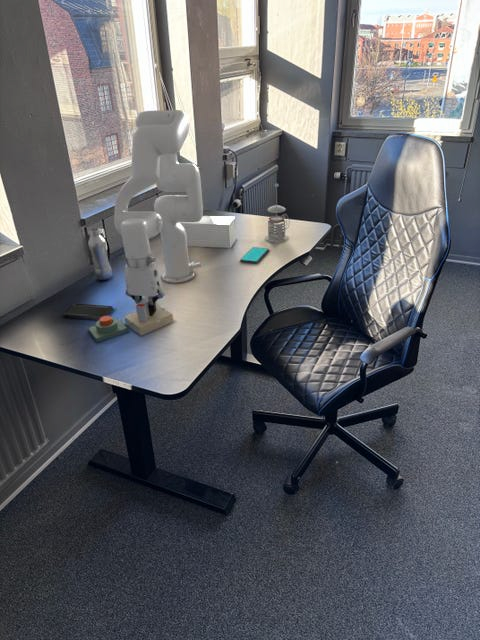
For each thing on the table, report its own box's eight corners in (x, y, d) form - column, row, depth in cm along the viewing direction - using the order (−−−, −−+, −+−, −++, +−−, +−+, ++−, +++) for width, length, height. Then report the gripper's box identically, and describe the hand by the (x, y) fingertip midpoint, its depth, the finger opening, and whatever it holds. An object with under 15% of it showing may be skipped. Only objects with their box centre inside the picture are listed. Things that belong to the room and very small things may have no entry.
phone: (74, 303, 162) (113, 306, 159) (75, 306, 163) (114, 309, 159) (62, 314, 155) (103, 317, 152) (63, 317, 156) (103, 320, 153)
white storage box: (236, 239, 214) (235, 216, 208) (230, 248, 205) (228, 224, 199) (171, 236, 221) (168, 214, 216) (163, 244, 212) (160, 222, 207)
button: (110, 319, 147) (109, 314, 146) (113, 323, 144) (112, 319, 144) (99, 322, 145) (97, 317, 145) (102, 327, 143) (101, 322, 142)
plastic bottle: (109, 282, 179) (98, 232, 169) (93, 281, 180) (81, 232, 170) (116, 275, 185) (106, 227, 175) (100, 274, 186) (90, 226, 176)
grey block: (150, 308, 153) (147, 292, 150) (157, 308, 152) (154, 293, 149) (138, 321, 145) (135, 305, 142) (146, 322, 145) (143, 306, 142)
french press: (275, 233, 218) (275, 179, 206) (294, 238, 211) (295, 183, 199) (261, 239, 212) (260, 184, 200) (281, 245, 205) (281, 188, 193)
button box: (118, 321, 152) (117, 312, 150) (127, 332, 146) (126, 322, 144) (88, 331, 147) (86, 322, 145) (96, 342, 141) (94, 332, 140)
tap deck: (155, 309, 158) (154, 301, 157) (177, 323, 149) (176, 314, 148) (121, 323, 151) (119, 314, 149) (142, 338, 142) (140, 329, 140)
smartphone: (268, 248, 200) (256, 261, 188) (268, 250, 200) (256, 263, 188) (252, 246, 202) (239, 259, 190) (253, 248, 203) (240, 261, 191)
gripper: (168, 257, 140) (175, 310, 150) (120, 254, 144) (129, 306, 153) (159, 266, 134) (167, 321, 143) (108, 263, 138) (119, 317, 147)
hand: (147, 313), depth 148 cm, fingers closed on grey block, 2 cm apart
